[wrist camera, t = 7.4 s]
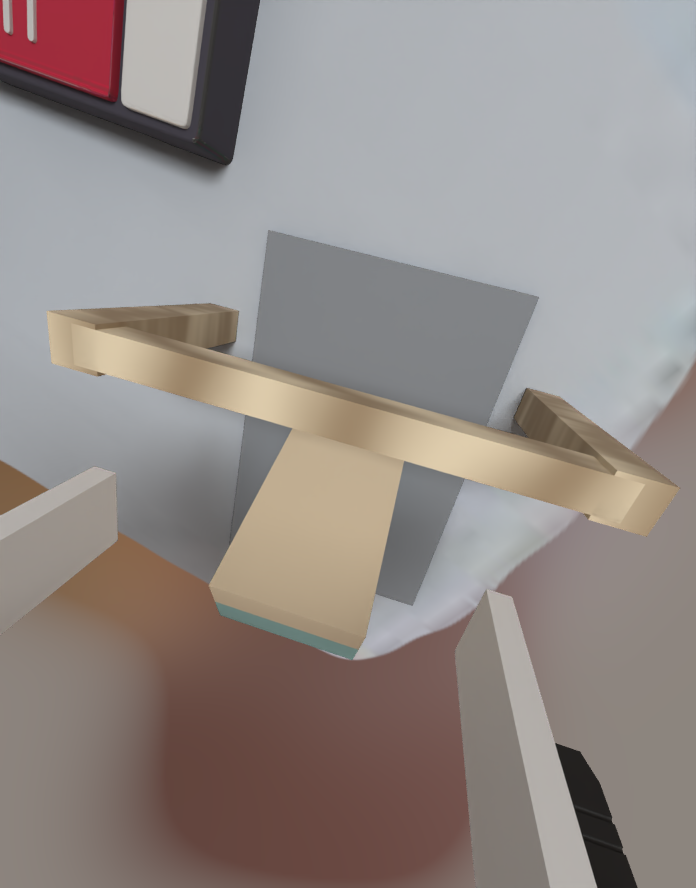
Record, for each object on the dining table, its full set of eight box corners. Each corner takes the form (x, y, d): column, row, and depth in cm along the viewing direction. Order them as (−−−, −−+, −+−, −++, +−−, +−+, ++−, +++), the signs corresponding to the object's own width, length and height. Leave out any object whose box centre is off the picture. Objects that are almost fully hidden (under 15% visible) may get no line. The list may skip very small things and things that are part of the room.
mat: (231, 543, 32) (229, 546, 32) (270, 231, 22) (268, 230, 22) (412, 602, 31) (412, 605, 30) (537, 297, 21) (539, 297, 21)
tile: (303, 407, 24) (301, 448, 27) (208, 585, 16) (220, 615, 19) (409, 438, 24) (394, 475, 26) (365, 637, 16) (352, 659, 18)
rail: (208, 333, 26) (51, 363, 15) (210, 303, 25) (46, 310, 14) (545, 426, 24) (646, 536, 13) (559, 396, 23) (679, 488, 12)
